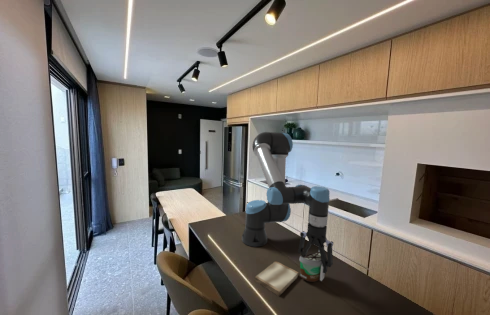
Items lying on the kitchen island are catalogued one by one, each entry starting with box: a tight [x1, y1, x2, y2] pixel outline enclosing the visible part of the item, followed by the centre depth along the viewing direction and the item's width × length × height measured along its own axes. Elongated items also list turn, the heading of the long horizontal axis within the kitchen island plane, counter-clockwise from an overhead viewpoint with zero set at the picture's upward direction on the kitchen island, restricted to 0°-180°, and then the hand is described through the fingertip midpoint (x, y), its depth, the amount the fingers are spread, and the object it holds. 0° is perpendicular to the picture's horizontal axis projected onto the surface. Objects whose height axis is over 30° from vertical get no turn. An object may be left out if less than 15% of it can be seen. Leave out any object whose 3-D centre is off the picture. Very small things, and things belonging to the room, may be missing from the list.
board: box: [254, 260, 300, 297], centre depth 87 cm, size 12×16×2 cm
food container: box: [298, 250, 323, 283], centre depth 86 cm, size 12×6×10 cm, turn 118°
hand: (313, 274), depth 87 cm, fingers closed on food container, 7 cm apart
